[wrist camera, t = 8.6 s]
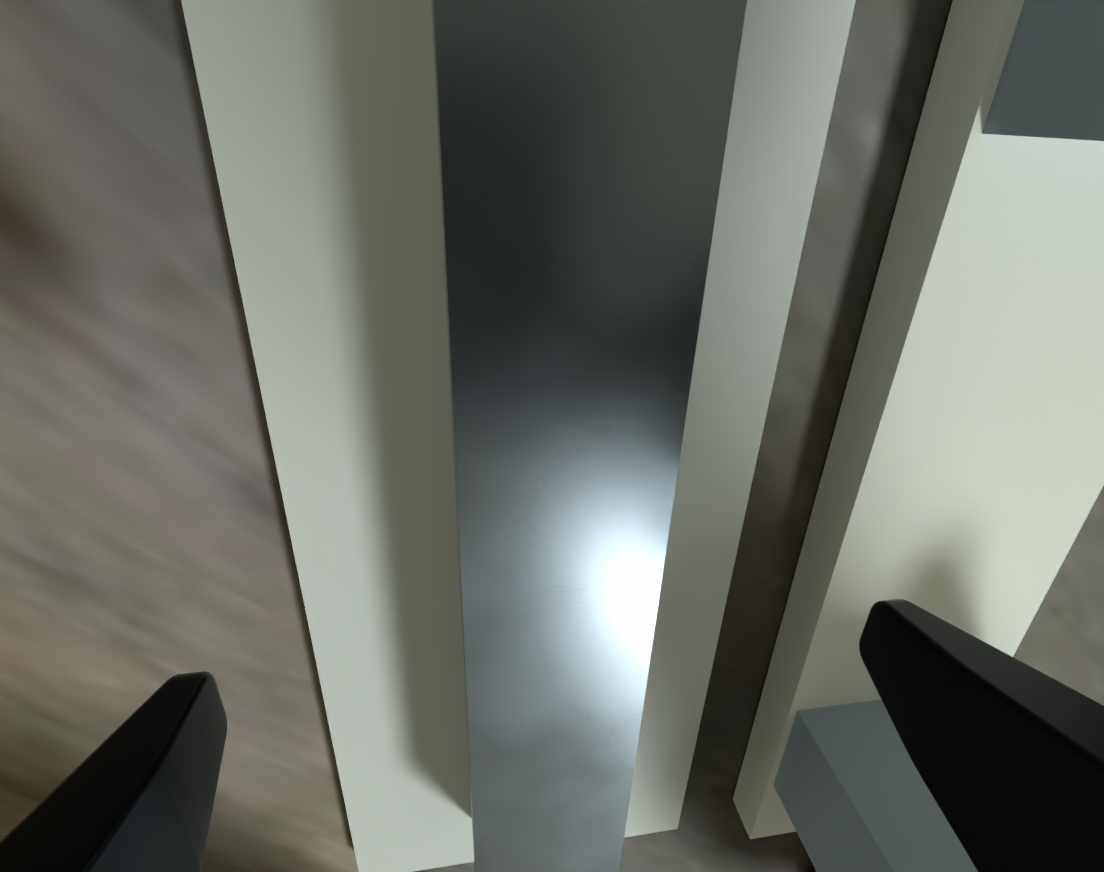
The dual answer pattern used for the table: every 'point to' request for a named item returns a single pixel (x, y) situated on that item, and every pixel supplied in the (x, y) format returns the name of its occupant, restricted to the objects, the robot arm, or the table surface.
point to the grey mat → (424, 377)
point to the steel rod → (570, 381)
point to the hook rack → (949, 427)
